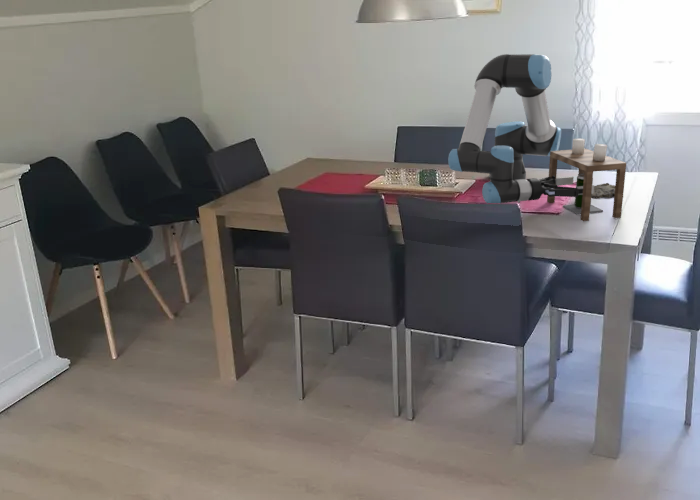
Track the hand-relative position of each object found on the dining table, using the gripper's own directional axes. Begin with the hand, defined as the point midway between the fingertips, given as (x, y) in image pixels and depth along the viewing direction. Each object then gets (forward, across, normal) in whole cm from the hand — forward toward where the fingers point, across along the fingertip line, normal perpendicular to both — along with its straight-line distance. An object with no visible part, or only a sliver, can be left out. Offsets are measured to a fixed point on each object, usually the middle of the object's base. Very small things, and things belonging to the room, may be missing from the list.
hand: (582, 184), depth 251 cm
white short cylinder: (+1, -6, +10) cm, 12 cm away
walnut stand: (+1, 0, -9) cm, 9 cm away
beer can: (+1, 0, -9) cm, 9 cm away
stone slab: (+20, -18, -10) cm, 29 cm away
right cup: (+2, +6, +10) cm, 12 cm away
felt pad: (+1, 0, -9) cm, 9 cm away
